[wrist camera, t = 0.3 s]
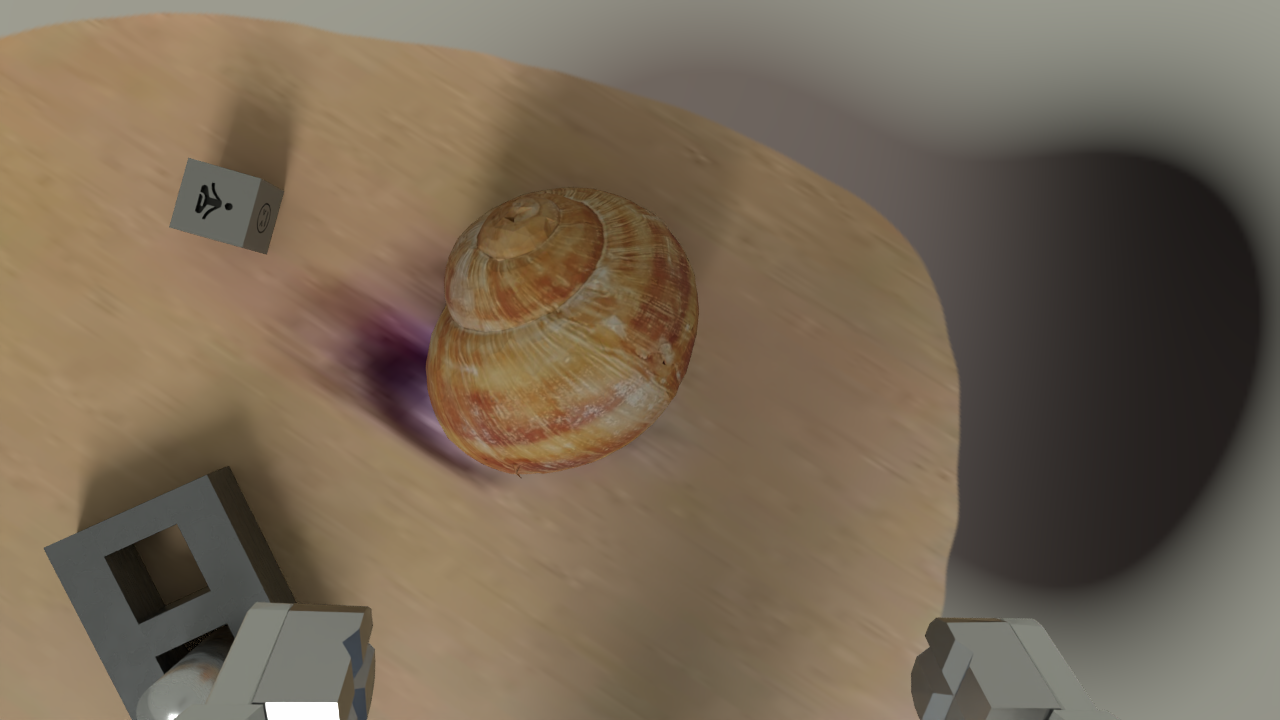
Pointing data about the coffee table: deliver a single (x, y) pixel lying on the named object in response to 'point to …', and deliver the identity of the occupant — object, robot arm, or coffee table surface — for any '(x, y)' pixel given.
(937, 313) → the coffee table surface
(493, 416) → the seashell
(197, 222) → the dice cube
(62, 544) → the jig
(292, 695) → the robot arm
